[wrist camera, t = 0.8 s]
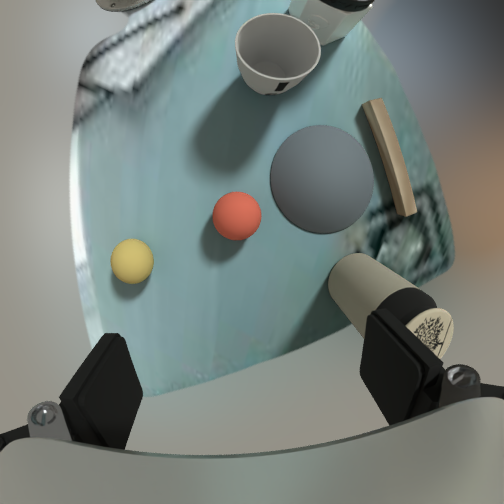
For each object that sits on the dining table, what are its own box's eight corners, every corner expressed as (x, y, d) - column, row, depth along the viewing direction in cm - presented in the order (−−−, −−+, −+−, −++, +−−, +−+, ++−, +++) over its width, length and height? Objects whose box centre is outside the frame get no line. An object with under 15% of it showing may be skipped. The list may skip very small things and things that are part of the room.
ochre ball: (112, 251, 35) (95, 263, 29) (140, 226, 34) (125, 234, 29) (138, 282, 36) (124, 299, 31) (166, 259, 35) (156, 273, 30)
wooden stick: (397, 213, 36) (406, 216, 33) (361, 104, 32) (369, 100, 29) (407, 209, 36) (417, 211, 33) (373, 101, 32) (381, 97, 29)
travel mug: (320, 301, 38) (374, 383, 21) (336, 247, 37) (411, 303, 19) (367, 308, 39) (433, 379, 22) (384, 258, 37) (467, 310, 20)
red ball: (205, 209, 34) (200, 214, 29) (241, 181, 34) (242, 182, 28) (232, 243, 35) (232, 255, 30) (267, 217, 35) (274, 224, 30)
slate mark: (293, 249, 36) (293, 249, 36) (253, 145, 32) (253, 145, 32) (384, 211, 36) (385, 211, 35) (352, 114, 32) (353, 113, 32)
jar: (276, 26, 28) (293, -24, 17) (298, -7, 27) (318, -55, 15) (336, 55, 30) (374, 16, 18) (353, 20, 28) (389, -19, 16)
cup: (264, 118, 32) (276, 95, 22) (221, 74, 30) (217, 39, 20) (311, 83, 31) (337, 54, 21) (269, 41, 29) (280, 2, 19)
